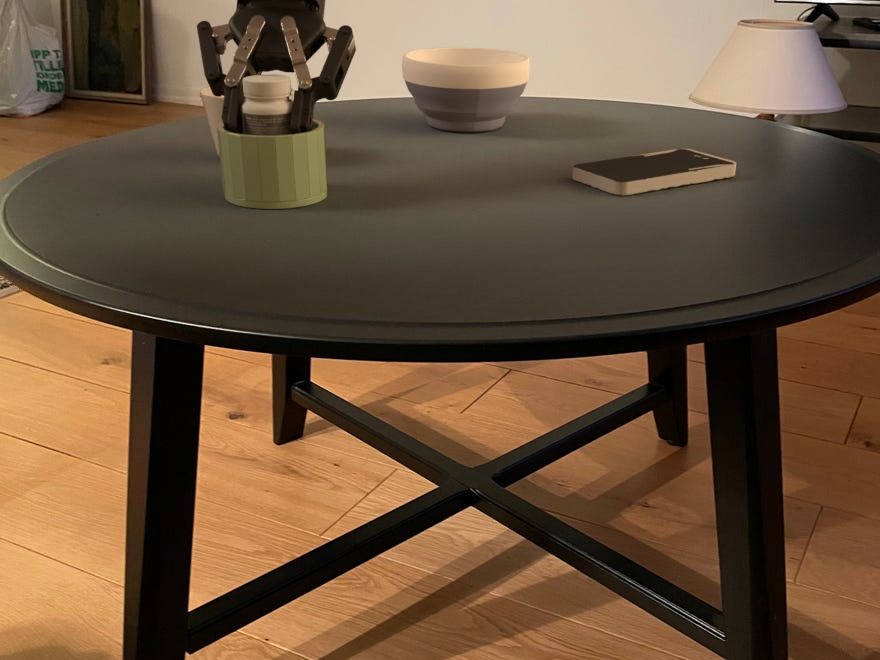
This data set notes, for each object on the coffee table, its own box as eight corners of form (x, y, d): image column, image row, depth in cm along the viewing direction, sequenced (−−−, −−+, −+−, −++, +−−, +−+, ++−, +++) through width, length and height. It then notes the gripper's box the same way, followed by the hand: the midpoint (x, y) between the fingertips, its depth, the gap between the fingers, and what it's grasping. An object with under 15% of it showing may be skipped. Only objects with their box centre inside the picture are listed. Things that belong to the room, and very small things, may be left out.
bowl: (381, 131, 115) (379, 59, 112) (431, 109, 127) (431, 44, 124) (503, 143, 111) (505, 69, 107) (543, 120, 123) (546, 52, 119)
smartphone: (569, 165, 98) (685, 147, 105) (568, 179, 98) (684, 161, 106) (621, 182, 92) (740, 163, 99) (620, 197, 93) (738, 177, 100)
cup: (281, 215, 86) (275, 141, 83) (202, 198, 90) (194, 127, 87) (348, 192, 92) (345, 123, 89) (272, 177, 96) (267, 111, 93)
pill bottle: (310, 181, 90) (304, 79, 86) (259, 187, 88) (250, 83, 83) (288, 169, 93) (281, 71, 89) (239, 175, 91) (229, 75, 87)
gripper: (193, -68, 88) (168, 105, 83) (360, -63, 87) (343, 111, 83) (217, -6, 95) (194, 157, 91) (370, -1, 95) (355, 162, 90)
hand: (265, 134), depth 87 cm, fingers closed on pill bottle, 4 cm apart
